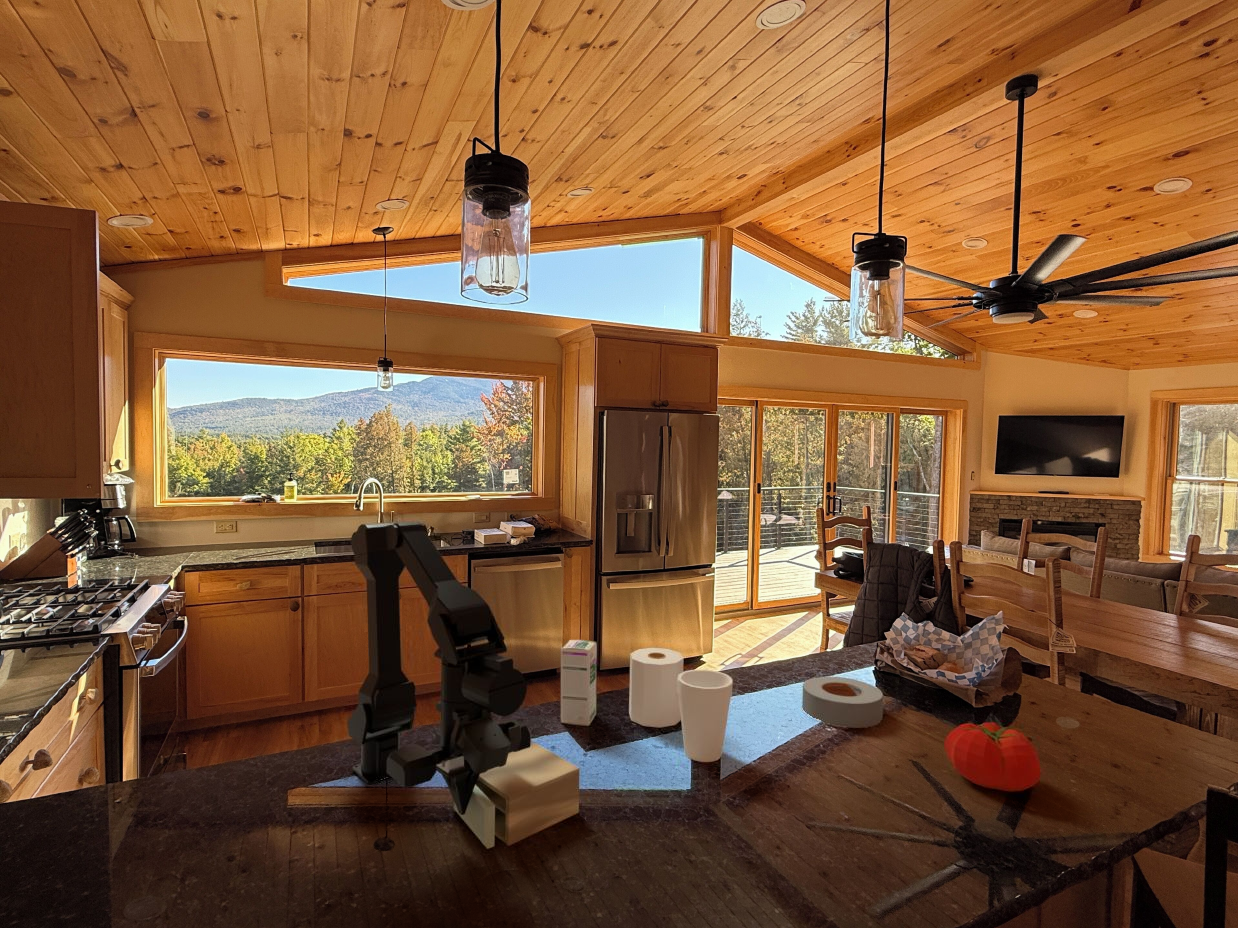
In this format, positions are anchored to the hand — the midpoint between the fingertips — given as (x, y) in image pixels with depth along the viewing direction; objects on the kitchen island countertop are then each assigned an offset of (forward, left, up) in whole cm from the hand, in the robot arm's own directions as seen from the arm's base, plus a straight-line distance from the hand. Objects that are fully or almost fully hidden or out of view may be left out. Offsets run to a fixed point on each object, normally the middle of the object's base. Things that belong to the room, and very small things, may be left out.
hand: (461, 813), depth 90 cm
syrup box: (-20, +37, -4) cm, 42 cm away
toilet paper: (-11, +49, -4) cm, 50 cm away
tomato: (+42, +72, -4) cm, 83 cm away
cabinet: (-1, +10, -3) cm, 10 cm away
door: (-1, +2, -3) cm, 4 cm away
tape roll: (+12, +79, -4) cm, 80 cm away
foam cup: (+5, +44, -4) cm, 44 cm away
